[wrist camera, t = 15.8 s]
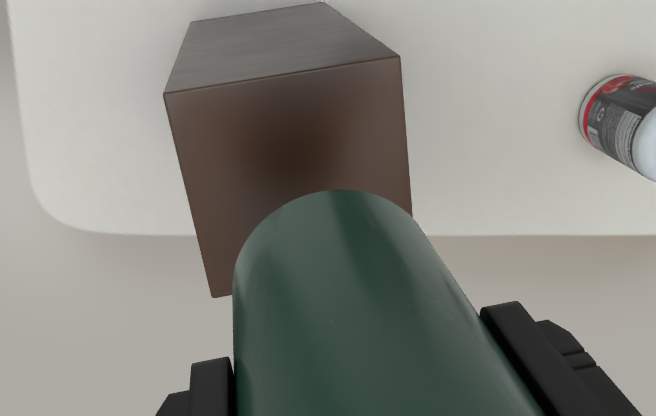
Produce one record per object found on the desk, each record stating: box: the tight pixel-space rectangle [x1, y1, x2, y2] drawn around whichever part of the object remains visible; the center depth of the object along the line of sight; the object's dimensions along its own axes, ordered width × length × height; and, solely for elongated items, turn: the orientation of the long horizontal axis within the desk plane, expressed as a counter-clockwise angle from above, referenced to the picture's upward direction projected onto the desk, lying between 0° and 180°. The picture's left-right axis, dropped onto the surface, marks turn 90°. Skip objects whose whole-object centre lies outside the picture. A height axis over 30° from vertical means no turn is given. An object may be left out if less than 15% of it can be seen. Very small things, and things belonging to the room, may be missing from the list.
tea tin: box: [232, 190, 546, 416], centre depth 12 cm, size 5×5×8 cm
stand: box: [163, 2, 413, 298], centre depth 30 cm, size 8×8×18 cm
